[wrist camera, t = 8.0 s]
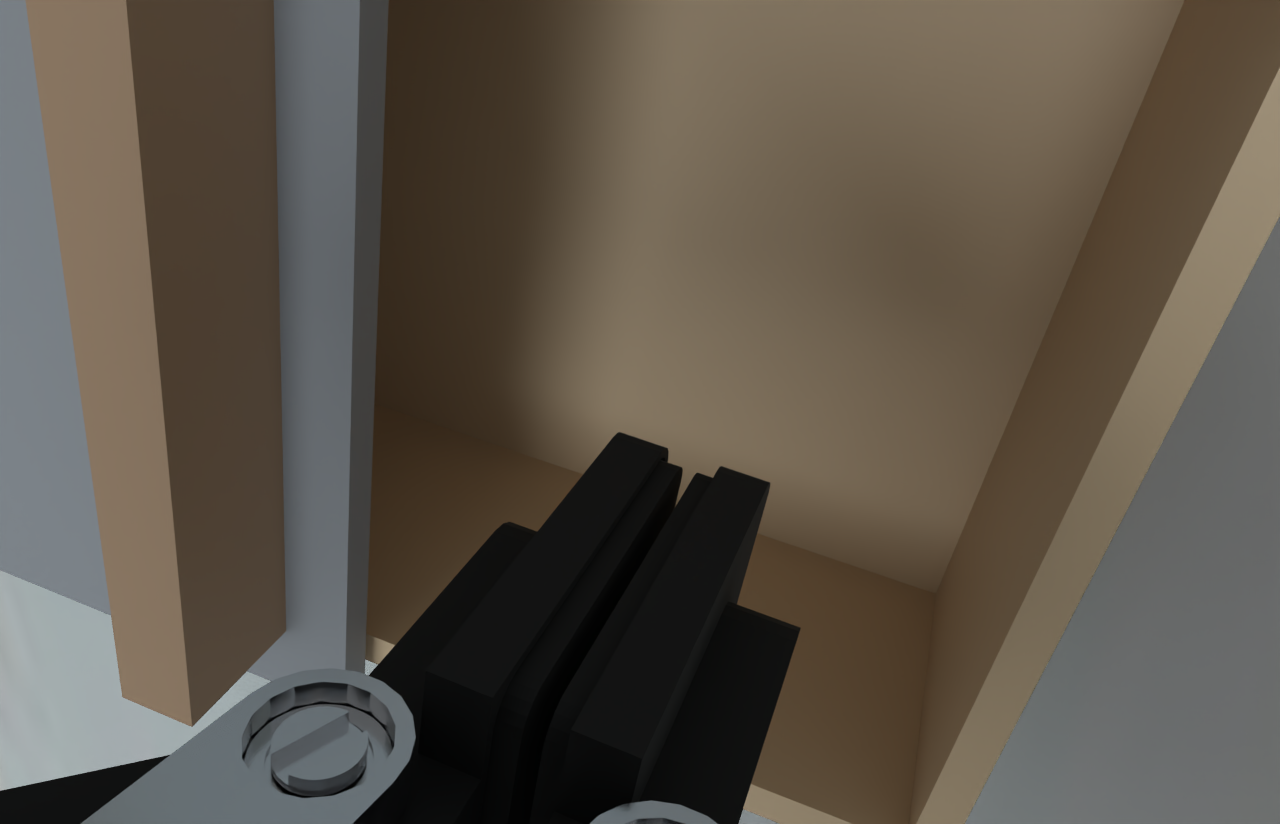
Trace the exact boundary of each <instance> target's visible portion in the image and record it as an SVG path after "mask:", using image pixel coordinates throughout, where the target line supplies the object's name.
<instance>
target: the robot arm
mask: <svg viewBox="0 0 1280 824" xmlns="http://www.w3.org/2000/svg"><path fill="white" fill-rule="evenodd" d="M668 454H669V451H668V448H666V447H663V446H660V445H657V444H654V443H651V442H648V441H645V440H642V439H639V438H636V437H633V436H630V435H627V434H624V433H621V432H618V433H617V434H616V435H615V436H614V437H613V438H612V439H611V440H610V442H609V443H608V444H607V445H606V447H605V448H604V449H603V450H602V452H601V453H600V454H599V455H598V457H597V458H596V459H595V460H594V462H593V463H592V464H591V465H590V467H589V468H588V469H587V470H586V472H585V473H584V474H583V475H582V476H581V478H580V479H579V480H578V481H577V483H576V484H575V485H574V486H573V488H572V489H571V490H570V491H569V493H568V494H567V495H566V496H565V498H564V499H563V500H562V501H561V503H560V504H559V505H558V506H557V508H556V509H555V510H554V511H553V513H552V514H551V515H550V516H549V518H548V519H547V520H546V521H545V523H544V524H543V525H542V526H541V528H540V529H539V530H538V531H534V530H532V529H529V528H526V527H523V526H521V525H518V524H515V523H512V522H507V523H503V524H502V525H501V526H500V527H499V528H498V529H496V530H495V531H494V532H493V534H492V535H491V536H490V537H489V538H488V539H487V540H486V542H485V543H484V544H483V545H482V546H481V547H480V549H479V550H478V551H477V552H476V553H475V554H474V555H473V557H472V558H471V559H470V560H469V561H468V562H467V563H466V565H465V566H464V567H463V568H462V569H461V570H460V571H459V573H458V574H457V575H456V576H455V577H454V578H453V579H452V581H451V582H450V583H449V584H448V585H447V586H446V588H445V589H444V590H443V591H442V592H441V593H440V594H439V596H438V597H437V598H436V599H435V600H434V601H433V602H432V604H431V605H430V606H429V607H428V608H427V609H426V610H425V612H424V613H423V614H422V615H421V616H420V617H419V618H418V620H417V621H416V622H415V623H414V624H413V625H412V626H411V628H410V629H409V630H408V631H407V632H406V633H405V635H404V636H403V637H402V638H401V639H400V640H399V641H398V643H397V644H396V645H395V646H394V647H393V648H392V649H391V651H390V652H389V653H388V654H387V655H386V656H385V657H384V659H383V660H382V661H381V662H380V663H379V664H378V665H377V667H376V668H375V669H374V670H373V671H372V672H371V674H370V675H369V676H368V675H365V674H363V673H360V672H356V671H349V670H342V669H334V668H328V669H316V670H304V671H300V672H297V673H294V674H290V675H287V676H284V677H281V678H277V679H275V680H273V681H271V682H270V683H268V684H266V685H265V686H263V687H261V688H259V689H258V690H256V691H254V692H252V693H251V694H249V695H248V696H247V697H246V698H244V699H243V700H242V701H240V702H239V703H238V704H236V705H235V706H234V707H232V708H231V709H230V710H229V711H227V712H226V713H225V714H223V715H222V716H221V717H219V718H218V719H217V720H215V721H214V722H213V723H212V724H210V725H209V726H208V727H206V728H205V729H204V730H202V731H201V732H200V733H198V734H197V735H196V736H195V737H193V738H192V739H191V740H189V741H188V742H187V743H185V744H184V745H183V746H181V747H180V748H179V749H178V750H176V751H175V752H174V753H172V754H171V755H168V756H163V757H158V758H153V759H149V760H144V761H139V762H135V763H130V764H125V765H120V766H116V767H111V768H106V769H102V770H97V771H92V772H87V773H83V774H78V775H73V776H68V777H64V778H59V779H54V780H50V781H45V782H40V783H35V784H31V785H26V786H21V787H17V788H12V789H7V790H2V791H0V824H738V823H739V820H740V817H741V814H742V810H743V807H744V804H745V801H746V798H747V795H748V792H749V789H750V785H751V782H752V779H753V776H754V773H755V770H756V767H757V764H758V760H759V757H760V754H761V751H762V748H763V745H764V742H765V739H766V735H767V732H768V729H769V726H770V723H771V720H772V717H773V714H774V711H775V707H776V704H777V701H778V698H779V695H780V692H781V689H782V686H783V682H784V679H785V676H786V673H787V670H788V667H789V664H790V661H791V657H792V654H793V651H794V648H795V645H796V642H797V639H798V636H799V632H800V629H801V628H800V627H798V626H795V625H792V624H789V623H787V622H784V621H781V620H778V619H776V618H773V617H770V616H767V615H765V614H762V613H759V612H756V611H754V610H751V609H748V608H745V607H743V606H740V605H737V602H738V599H739V595H740V592H741V588H742V585H743V581H744V578H745V574H746V571H747V567H748V564H749V560H750V557H751V553H752V550H753V546H754V543H755V539H756V536H757V532H758V529H759V525H760V522H761V518H762V515H763V511H764V508H765V505H766V501H767V497H768V494H769V489H770V482H767V481H764V480H762V479H759V478H756V477H753V476H750V475H747V474H744V473H741V472H738V471H735V470H732V469H729V468H726V467H723V466H720V467H719V468H718V470H717V471H716V473H715V475H714V477H713V478H712V477H709V476H706V475H703V474H701V473H696V474H695V475H694V477H693V478H692V480H691V482H690V483H689V485H688V487H687V488H686V490H685V492H684V493H683V495H682V497H681V498H680V500H679V502H678V503H677V505H676V501H677V496H678V492H679V488H680V484H681V479H682V472H683V469H682V467H680V466H677V465H674V464H671V463H668ZM675 505H676V507H675Z"/></svg>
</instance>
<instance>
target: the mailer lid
mask: <svg viewBox="0 0 1280 824" xmlns="http://www.w3.org/2000/svg"><path fill="white" fill-rule="evenodd" d="M388 3H389V0H0V570H1V571H4V572H6V573H9V574H11V575H14V576H16V577H18V578H21V579H23V580H26V581H28V582H31V583H33V584H36V585H38V586H40V587H43V588H45V589H48V590H50V591H53V592H55V593H57V594H60V595H62V596H65V597H67V598H70V599H72V600H75V601H77V602H79V603H82V604H84V605H87V606H89V607H92V608H94V609H97V610H99V611H101V612H104V613H106V614H109V615H111V618H112V625H113V632H114V639H115V647H116V654H117V661H118V668H119V675H120V682H121V690H122V697H123V698H126V699H128V700H130V701H133V702H135V703H137V704H140V705H142V706H144V707H147V708H149V709H151V710H154V711H156V712H158V713H161V714H163V715H165V716H168V717H170V718H172V719H175V720H177V721H179V722H182V723H184V724H186V725H189V726H191V727H192V726H193V725H194V724H195V723H196V722H197V721H198V720H199V719H200V718H201V717H202V716H203V715H204V714H205V713H206V712H207V711H208V710H209V709H210V708H211V707H212V706H213V705H214V704H215V703H216V702H217V701H218V700H219V699H220V698H221V697H222V696H223V695H224V694H225V693H226V692H227V691H228V690H229V689H230V688H231V687H232V686H233V685H234V684H235V683H236V682H237V681H238V680H239V679H240V678H241V677H242V676H243V675H244V674H245V673H246V671H248V672H250V673H253V674H255V675H258V676H260V677H263V678H265V679H267V680H270V681H273V680H275V679H277V678H281V677H284V676H287V675H290V674H294V673H297V672H300V671H304V670H316V669H328V668H334V669H342V670H349V671H356V672H360V673H363V674H365V650H366V622H367V594H368V566H369V538H370V510H371V482H372V454H373V425H374V397H375V369H376V341H377V313H378V285H379V257H380V228H381V200H382V172H383V144H384V116H385V88H386V60H387V31H388Z"/></svg>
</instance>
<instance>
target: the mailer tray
mask: <svg viewBox="0 0 1280 824" xmlns="http://www.w3.org/2000/svg"><path fill="white" fill-rule="evenodd" d="M1279 216H1280V0H389V3H388V31H387V60H386V88H385V116H384V144H383V172H382V200H381V228H380V257H379V285H378V313H377V341H376V369H375V397H374V425H373V454H372V482H371V510H370V538H369V566H368V594H367V622H366V650H365V659H366V660H368V661H371V662H373V663H376V664H379V663H380V662H381V661H382V660H383V659H384V657H385V656H386V655H387V654H388V653H389V652H390V651H391V649H392V648H393V647H394V646H395V645H396V644H397V643H398V641H399V640H400V639H401V638H402V637H403V636H404V635H405V633H406V632H407V631H408V630H409V629H410V628H411V626H412V625H413V624H414V623H415V622H416V621H417V620H418V618H419V617H420V616H421V615H422V614H423V613H424V612H425V610H426V609H427V608H428V607H429V606H430V605H431V604H432V602H433V601H434V600H435V599H436V598H437V597H438V596H439V594H440V593H441V592H442V591H443V590H444V589H445V588H446V586H447V585H448V584H449V583H450V582H451V581H452V579H453V578H454V577H455V576H456V575H457V574H458V573H459V571H460V570H461V569H462V568H463V567H464V566H465V565H466V563H467V562H468V561H469V560H470V559H471V558H472V557H473V555H474V554H475V553H476V552H477V551H478V550H479V549H480V547H481V546H482V545H483V544H484V543H485V542H486V540H487V539H488V538H489V537H490V536H491V535H492V534H493V532H494V531H495V530H496V529H498V528H499V527H500V526H501V525H502V524H503V523H507V522H512V523H515V524H518V525H521V526H523V527H526V528H529V529H532V530H534V531H538V530H539V529H540V528H541V526H542V525H543V524H544V523H545V521H546V520H547V519H548V518H549V516H550V515H551V514H552V513H553V511H554V510H555V509H556V508H557V506H558V505H559V504H560V503H561V501H562V500H563V499H564V498H565V496H566V495H567V494H568V493H569V491H570V490H571V489H572V488H573V486H574V485H575V484H576V483H577V481H578V480H579V479H580V478H581V476H582V475H583V474H584V473H585V472H586V470H587V469H588V468H589V467H590V465H591V464H592V463H593V462H594V460H595V459H596V458H597V457H598V455H599V454H600V453H601V452H602V450H603V449H604V448H605V447H606V445H607V444H608V443H609V442H610V440H611V439H612V438H613V437H614V436H615V435H616V434H617V433H618V432H621V433H624V434H627V435H630V436H633V437H636V438H639V439H642V440H645V441H648V442H651V443H654V444H657V445H660V446H663V447H666V448H668V451H669V454H668V463H671V464H674V465H677V466H680V467H682V469H683V472H682V479H681V484H680V488H679V492H678V496H677V501H676V505H677V503H678V502H679V500H680V498H681V497H682V495H683V493H684V492H685V490H686V488H687V487H688V485H689V483H690V482H691V480H692V478H693V477H694V475H695V474H696V473H701V474H703V475H706V476H709V477H712V478H713V477H714V475H715V473H716V471H717V470H718V468H719V467H720V466H723V467H726V468H729V469H732V470H735V471H738V472H741V473H744V474H747V475H750V476H753V477H756V478H759V479H762V480H764V481H767V482H770V489H769V494H768V497H767V501H766V505H765V508H764V511H763V515H762V518H761V522H760V525H759V529H758V532H757V536H756V539H755V543H754V546H753V550H752V553H751V557H750V560H749V564H748V567H747V571H746V574H745V578H744V581H743V585H742V588H741V592H740V595H739V599H738V602H737V605H740V606H743V607H745V608H748V609H751V610H754V611H756V612H759V613H762V614H765V615H767V616H770V617H773V618H776V619H778V620H781V621H784V622H787V623H789V624H792V625H795V626H798V627H800V628H801V629H800V632H799V636H798V639H797V642H796V645H795V648H794V651H793V654H792V657H791V661H790V664H789V667H788V670H787V673H786V676H785V679H784V682H783V686H782V689H781V692H780V695H779V698H778V701H777V704H776V707H775V711H774V714H773V717H772V720H771V723H770V726H769V729H768V732H767V735H766V739H765V742H764V745H763V748H762V751H761V754H760V757H759V760H758V764H757V767H756V770H755V773H754V776H753V779H752V782H751V785H750V789H749V792H748V795H747V798H746V801H745V804H744V807H743V809H744V810H747V811H749V812H752V813H754V814H757V815H759V816H762V817H765V818H767V819H770V820H772V821H775V822H777V823H780V824H965V822H966V820H967V818H968V816H969V814H970V812H971V810H972V808H973V806H974V804H975V803H976V801H977V799H978V797H979V795H980V793H981V791H982V789H983V787H984V785H985V783H986V781H987V779H988V777H989V776H990V774H991V772H992V770H993V768H994V766H995V764H996V762H997V760H998V758H999V756H1000V754H1001V752H1002V750H1003V749H1004V747H1005V745H1006V743H1007V741H1008V739H1009V737H1010V735H1011V733H1012V731H1013V729H1014V727H1015V725H1016V724H1017V722H1018V720H1019V718H1020V716H1021V714H1022V712H1023V710H1024V708H1025V706H1026V704H1027V702H1028V700H1029V698H1030V697H1031V695H1032V693H1033V691H1034V689H1035V687H1036V685H1037V683H1038V681H1039V679H1040V677H1041V675H1042V673H1043V671H1044V670H1045V668H1046V666H1047V664H1048V662H1049V660H1050V658H1051V656H1052V654H1053V652H1054V650H1055V648H1056V646H1057V644H1058V643H1059V641H1060V639H1061V637H1062V635H1063V633H1064V631H1065V629H1066V627H1067V625H1068V623H1069V621H1070V619H1071V617H1072V616H1073V614H1074V612H1075V610H1076V608H1077V606H1078V604H1079V602H1080V600H1081V598H1082V596H1083V594H1084V592H1085V590H1086V589H1087V587H1088V585H1089V583H1090V581H1091V579H1092V577H1093V575H1094V573H1095V571H1096V569H1097V567H1098V565H1099V563H1100V562H1101V560H1102V558H1103V556H1104V554H1105V552H1106V550H1107V548H1108V546H1109V544H1110V542H1111V540H1112V538H1113V536H1114V535H1115V533H1116V531H1117V529H1118V527H1119V525H1120V523H1121V521H1122V519H1123V517H1124V515H1125V513H1126V511H1127V509H1128V508H1129V506H1130V504H1131V502H1132V500H1133V498H1134V496H1135V494H1136V492H1137V490H1138V488H1139V486H1140V484H1141V482H1142V481H1143V479H1144V477H1145V475H1146V473H1147V471H1148V469H1149V467H1150V465H1151V463H1152V461H1153V459H1154V457H1155V455H1156V454H1157V452H1158V450H1159V448H1160V446H1161V444H1162V442H1163V440H1164V438H1165V436H1166V434H1167V432H1168V430H1169V428H1170V427H1171V425H1172V423H1173V421H1174V419H1175V417H1176V415H1177V413H1178V411H1179V409H1180V407H1181V405H1182V403H1183V401H1184V400H1185V398H1186V396H1187V394H1188V392H1189V390H1190V388H1191V386H1192V384H1193V382H1194V380H1195V378H1196V376H1197V374H1198V373H1199V371H1200V369H1201V367H1202V365H1203V363H1204V361H1205V359H1206V357H1207V355H1208V353H1209V351H1210V349H1211V348H1212V346H1213V344H1214V342H1215V340H1216V338H1217V336H1218V334H1219V332H1220V330H1221V328H1222V326H1223V324H1224V322H1225V321H1226V319H1227V317H1228V315H1229V313H1230V311H1231V309H1232V307H1233V305H1234V303H1235V301H1236V299H1237V297H1238V295H1239V294H1240V292H1241V290H1242V288H1243V286H1244V284H1245V282H1246V280H1247V278H1248V276H1249V274H1250V272H1251V270H1252V268H1253V267H1254V265H1255V263H1256V261H1257V259H1258V257H1259V255H1260V253H1261V251H1262V249H1263V247H1264V245H1265V243H1266V241H1267V240H1268V238H1269V236H1270V234H1271V232H1272V230H1273V228H1274V226H1275V224H1276V222H1277V220H1278V218H1279ZM676 505H675V507H676Z"/></svg>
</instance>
